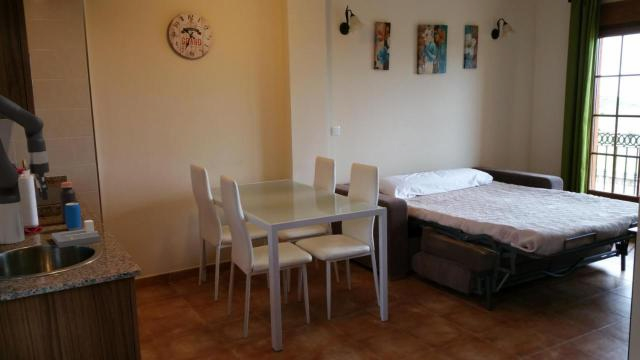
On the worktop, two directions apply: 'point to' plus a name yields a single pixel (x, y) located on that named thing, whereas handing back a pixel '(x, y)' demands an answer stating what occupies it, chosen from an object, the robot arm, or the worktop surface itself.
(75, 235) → the fader console
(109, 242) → the worktop surface
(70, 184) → the bottle
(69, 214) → the beverage can
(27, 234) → the worktop surface
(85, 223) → the fader tab
